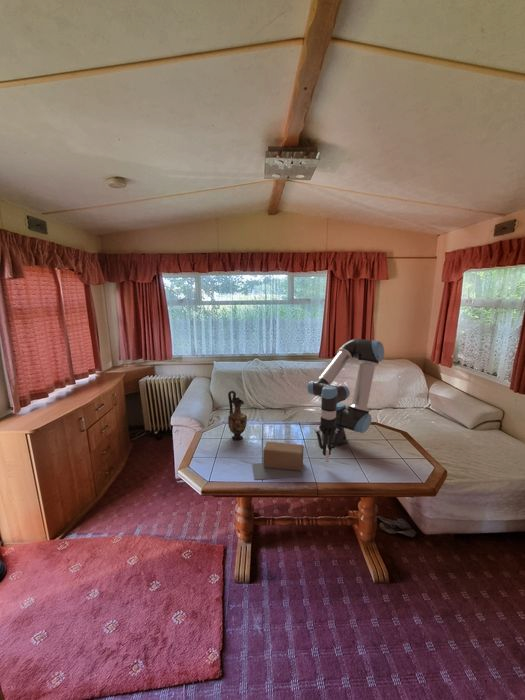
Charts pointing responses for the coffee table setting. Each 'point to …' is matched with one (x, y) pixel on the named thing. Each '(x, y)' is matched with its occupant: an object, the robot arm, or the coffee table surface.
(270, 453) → the block
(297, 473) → the mat
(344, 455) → the coffee table surface
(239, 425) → the vase
